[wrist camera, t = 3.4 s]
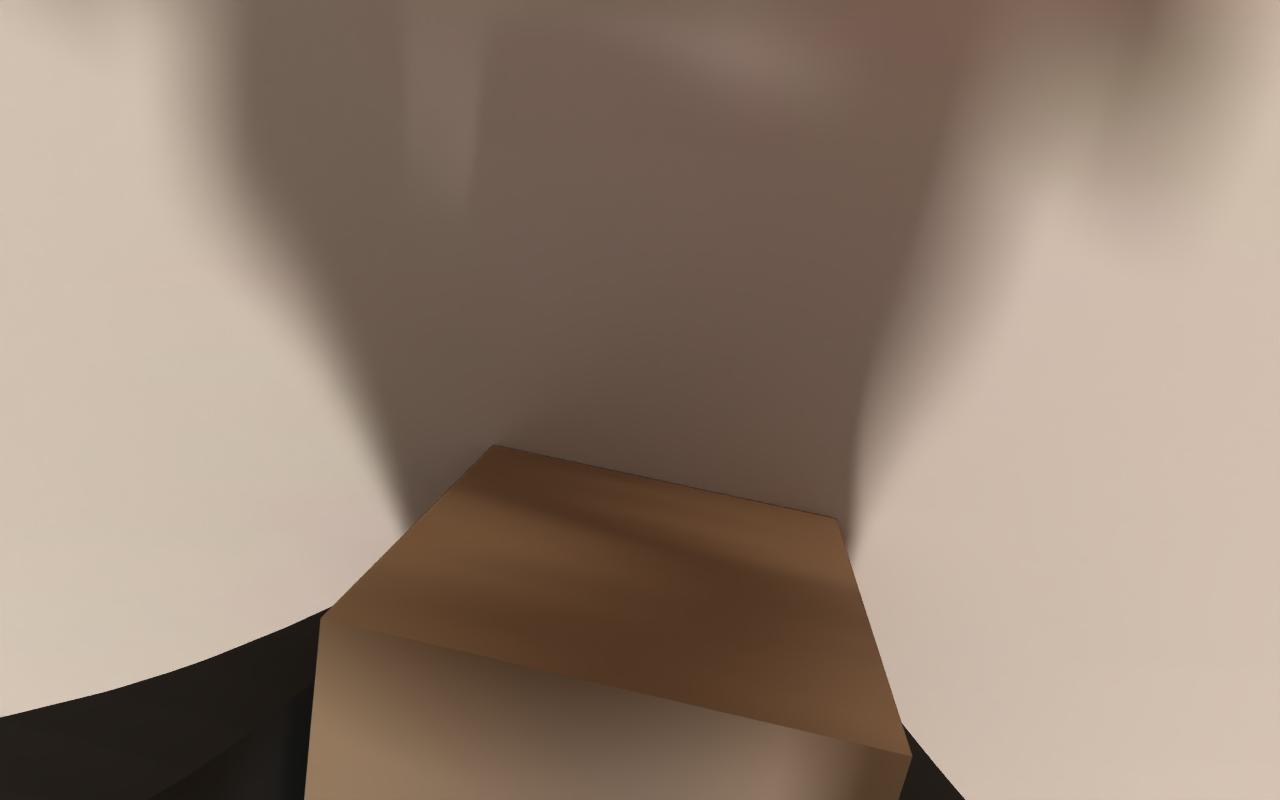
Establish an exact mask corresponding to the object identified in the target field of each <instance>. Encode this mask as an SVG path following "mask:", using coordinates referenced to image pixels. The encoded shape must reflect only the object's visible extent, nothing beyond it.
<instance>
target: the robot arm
mask: <svg viewBox="0 0 1280 800" xmlns="http://www.w3.org/2000/svg"><path fill="white" fill-rule="evenodd" d="M330 608H331V607H330ZM330 608H328V609H326V610H323V611H321V612H319V613H317V614H315V615H312V616H310V617H308V618H306V619H304V620H301V621H299V622H297V623H295V624H293V625H291V626H288V627H286V628H284V629H281V630H279V631H276V632H274V633H271V634H269V635H266V636H264V637H261V638H259V639H256V640H254V641H252V642H249V643H247V644H244V645H242V646H239V647H237V648H234V649H232V650H229V651H227V652H224V653H222V654H220V655H217V656H215V657H212V658H209V659H206V660H204V661H201V662H198V663H195V664H193V665H190V666H187V667H184V668H181V669H178V670H175V671H172V672H169V673H166V674H163V675H160V676H156V677H153V678H150V679H147V680H143V681H140V682H137V683H134V684H131V685H127V686H124V687H121V688H117V689H114V690H110V691H107V692H103V693H99V694H95V695H91V696H87V697H83V698H79V699H75V700H71V701H67V702H63V703H59V704H54V705H50V706H46V707H42V708H38V709H34V710H30V711H26V712H22V713H18V714H14V715H10V716H5V717H0V800H304V797H305V786H306V775H307V763H308V752H309V741H310V730H311V719H312V708H313V697H314V686H315V675H316V664H317V653H318V642H319V631H320V620H321V617H322V616H323V615H324V614H325V613H326V612H327V611H328V610H329V609H330ZM902 726H903V729H904V732H905V735H906V738H907V741H908V744H909V748H910V751H911V754H912V759H911V762H910V765H909V768H908V771H907V775H906V778H905V781H904V784H903V787H902V790H901V793H900V796H899V799H898V800H965V799H964V798H963V797H962V795H961V794H960V793H959V792H958V791H957V790H956V788H955V787H954V786H953V785H952V784H951V783H950V781H949V780H948V779H947V778H946V777H945V776H944V774H943V773H942V772H941V771H940V770H939V768H938V767H937V766H936V765H935V764H934V762H933V761H932V760H931V759H930V758H929V756H928V755H927V754H926V753H925V751H924V750H923V749H922V748H921V746H920V745H919V744H918V743H917V742H916V740H915V739H914V738H913V737H912V735H911V734H910V733H909V732H908V730H907V729H906V728H905V727H904V725H903V724H902Z"/></svg>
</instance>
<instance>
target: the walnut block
mask: <svg viewBox="0 0 1280 800" xmlns="http://www.w3.org/2000/svg"><path fill="white" fill-rule="evenodd" d="M911 759H912V754H911V751H910V748H909V744H908V741H907V738H906V735H905V732H904V729H903V726H902V723H901V720H900V716H899V713H898V710H897V707H896V704H895V701H894V698H893V695H892V691H891V688H890V685H889V682H888V679H887V676H886V673H885V670H884V667H883V663H882V660H881V657H880V654H879V651H878V648H877V645H876V642H875V638H874V635H873V632H872V629H871V626H870V623H869V620H868V617H867V614H866V610H865V607H864V604H863V601H862V598H861V595H860V592H859V589H858V586H857V582H856V579H855V576H854V573H853V570H852V567H851V564H850V561H849V557H848V554H847V551H846V548H845V545H844V542H843V539H842V536H841V533H840V529H839V526H838V523H837V520H836V519H835V518H830V517H825V516H821V515H816V514H811V513H807V512H802V511H798V510H793V509H788V508H784V507H779V506H774V505H770V504H765V503H760V502H756V501H751V500H747V499H742V498H737V497H733V496H728V495H723V494H719V493H714V492H709V491H705V490H700V489H696V488H691V487H686V486H682V485H677V484H672V483H668V482H663V481H658V480H654V479H649V478H644V477H640V476H635V475H631V474H626V473H621V472H617V471H612V470H607V469H603V468H598V467H593V466H589V465H584V464H580V463H575V462H570V461H566V460H561V459H556V458H552V457H547V456H542V455H538V454H533V453H529V452H524V451H519V450H515V449H510V448H505V447H501V446H496V445H492V446H491V447H490V448H489V449H488V450H487V451H486V452H485V453H484V454H483V455H482V456H481V457H480V458H479V459H478V460H477V461H476V462H475V463H474V464H473V465H472V466H471V467H470V468H469V469H468V470H467V471H466V472H465V473H464V474H463V475H462V476H461V477H460V478H459V479H458V480H457V481H456V483H455V484H454V485H453V486H452V487H451V488H450V489H449V490H448V491H447V492H446V493H445V494H444V495H443V496H442V497H441V498H440V499H439V500H438V501H437V502H436V503H435V504H434V505H433V506H432V507H431V508H430V509H429V510H428V511H427V512H426V513H425V514H424V515H423V516H422V517H421V518H420V519H419V520H418V521H417V522H416V523H415V524H414V525H413V526H412V527H411V528H410V529H409V530H408V531H407V532H406V533H405V534H404V535H403V536H402V537H401V538H400V539H399V540H398V541H397V542H396V543H395V544H394V545H393V546H392V547H391V548H390V549H389V550H388V551H387V552H386V553H385V554H384V555H383V556H382V557H381V558H380V559H379V560H378V561H377V562H376V563H375V564H374V565H373V566H372V567H371V568H370V569H369V570H368V571H367V572H366V573H365V574H364V575H363V576H362V577H361V578H360V579H359V580H358V581H357V582H356V583H355V584H354V585H353V586H352V587H351V588H350V589H349V590H348V591H347V592H346V593H345V594H344V595H343V596H342V597H341V598H340V599H339V600H338V601H337V602H336V603H335V604H334V605H333V606H332V607H331V608H330V609H329V610H328V611H327V612H326V613H325V614H324V615H323V616H322V617H321V620H320V631H319V642H318V653H317V664H316V675H315V686H314V697H313V708H312V719H311V730H310V741H309V752H308V763H307V775H306V786H305V797H304V800H898V799H899V796H900V793H901V790H902V787H903V784H904V781H905V778H906V775H907V771H908V768H909V765H910V762H911Z"/></svg>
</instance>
